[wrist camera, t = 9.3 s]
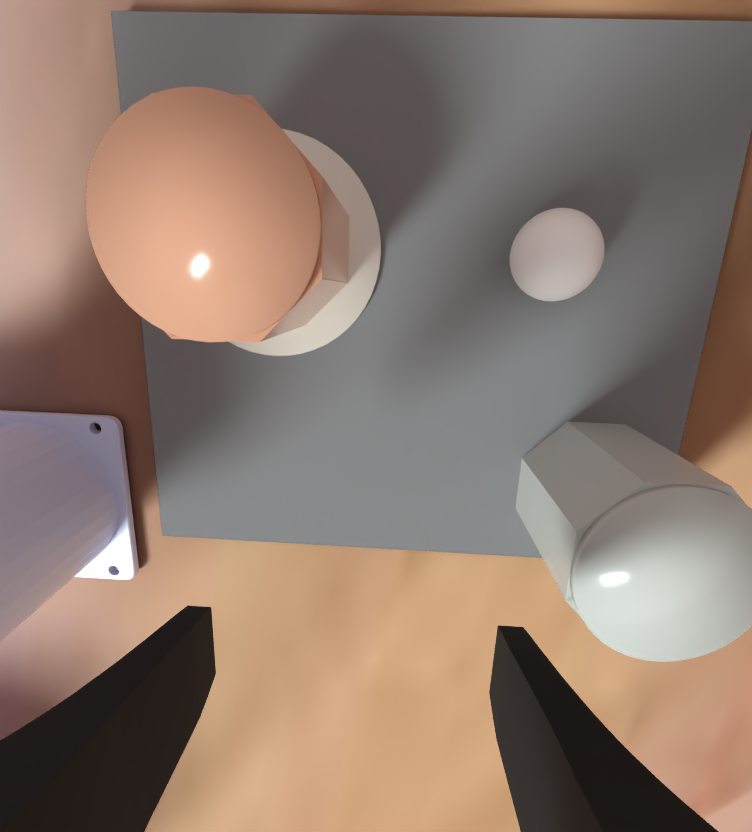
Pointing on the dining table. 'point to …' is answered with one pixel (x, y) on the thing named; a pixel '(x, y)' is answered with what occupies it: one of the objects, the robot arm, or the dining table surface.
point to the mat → (453, 264)
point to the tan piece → (213, 218)
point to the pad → (361, 258)
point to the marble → (557, 254)
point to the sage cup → (639, 541)
